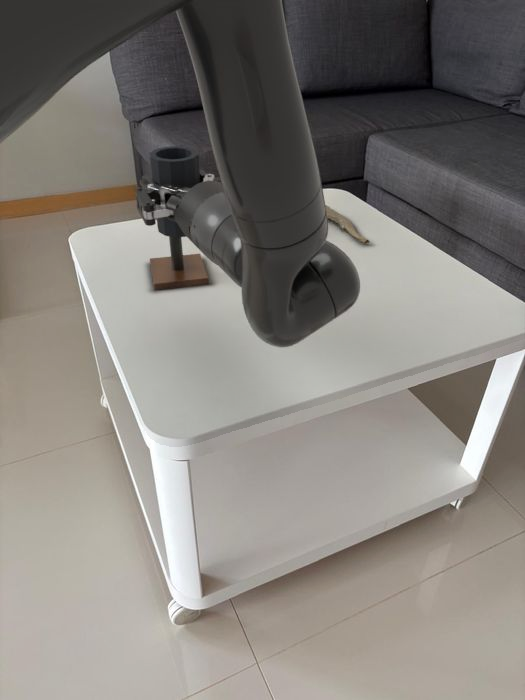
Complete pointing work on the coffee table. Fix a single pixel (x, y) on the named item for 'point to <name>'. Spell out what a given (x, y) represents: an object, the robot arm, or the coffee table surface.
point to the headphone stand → (178, 268)
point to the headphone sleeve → (174, 177)
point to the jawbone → (344, 223)
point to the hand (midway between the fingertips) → (170, 178)
